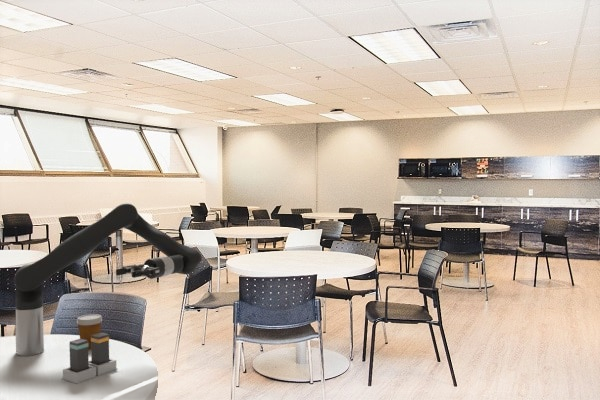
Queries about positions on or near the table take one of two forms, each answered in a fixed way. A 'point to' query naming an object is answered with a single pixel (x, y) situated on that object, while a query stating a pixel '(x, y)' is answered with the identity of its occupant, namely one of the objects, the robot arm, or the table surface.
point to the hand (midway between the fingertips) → (124, 273)
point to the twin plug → (79, 355)
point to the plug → (100, 348)
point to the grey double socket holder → (89, 372)
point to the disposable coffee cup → (89, 326)
